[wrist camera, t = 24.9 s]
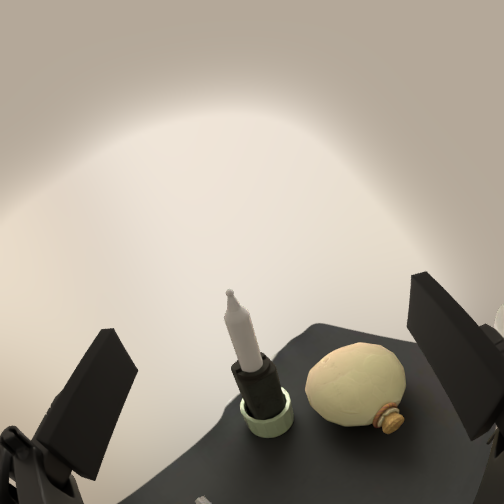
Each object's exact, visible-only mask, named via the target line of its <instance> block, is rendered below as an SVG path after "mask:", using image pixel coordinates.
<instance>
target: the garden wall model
mask: <svg viewBox="0 0 504 504" xmlns="http://www.w3.org/2000/svg"><path fill="white" fill-rule="evenodd" d="M203 497H204V496H203ZM203 497H201V498H197V499H196V501H195V503H197V504H211V503H210V502H209V501H208V500H206V498H203Z"/></svg>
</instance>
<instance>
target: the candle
mask: <svg viewBox="0 0 504 504" xmlns="http://www.w3.org/2000/svg"><path fill="white" fill-rule="evenodd" d="M226 295H227V296H228V301H227V311H226V313H225V316H224V319H225V323H226V326H227V329H228V331H229V335H230V338H231V341H232V343H233V346H234V349H235V352H236V355H237V358H238V360H237V362H235V363H234V364H233V365H232V367H231V370H232V373H233V375H234V378H235V380H236V383H237V385H238V388H239V390H240V393H241V395H242V397H243V400H244V402H245V405H246V407H247V409H248V412H249V414H250V416H251V417H252V418H254V419H257V420H267V419H271V418H274V417H275V416H277V415H279V414H280V413H281V412H282V411H283V409H284V408H285V401H284V397H283V393H282V389H281V385H280V381H279V377H278V373H277V369H276V366H275V364H274V363H273V362H272V361H271V360H270V359H269V358H268V357H267V356H266V355H265V354H264V353H262V352H260V350H259V346H258V343H257V340H256V336H255V333H254V329H253V325H252V321H251V318H250V314H249V312H248V310H247V309H246V308H244V307H243V306H241V305H240V303H239V302H238V301H237V299H236V298H235V297H234V295H233V290H231V289H228V290H227V291H226Z"/></svg>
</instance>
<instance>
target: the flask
mask: <svg viewBox="0 0 504 504" xmlns="http://www.w3.org/2000/svg"><path fill="white" fill-rule="evenodd" d="M405 388H406V381H405V373H404V368H403V366H402V364H401V363H400V362H399V360H398V359H397V357H396V356H395V354H394V353H392V352H390V351H389V350H387V349H385V348H384V347H382V346H380V345H375V344H368V343H356V344H352V345H349V346H346V347H342V348H339V349H337V350H334V351H333V352H331V353H329V354H328V355H326V356H325V357H324V358H323V359H322V360H320V361H319V362H318V363H317V364H316V365H315V366H314V367H313V368H312V369H311V370H310V372H309V374H308V378H307V383H306V388H305V391H306V394H307V397H308V400H309V403H310V405H311V406H312V407H313V408H314V409H315V410H316V411H317V412H318V413H319V414H320V415H321V416H322V417H323V418H325V419H326V420H327V421H330V422H333V423H336V424H339V425H342V426H345V427H349V426H362V425H369V424H372V423H373V425H374V427H376V428H380V427H382V429H383V432H384V433H386V434H390V433H392V432H394V431H396V430H397V429H398V428H399V427H400V426H401V424H402V423H403V422H404V417H403V416H402V415H400V414H398V413H399V409H397V406H398V404H399V403H400V401H401V398H402V396H403V393H404V390H405Z"/></svg>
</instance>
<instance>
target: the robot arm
mask: <svg viewBox="0 0 504 504" xmlns="http://www.w3.org/2000/svg"><path fill="white" fill-rule="evenodd" d="M407 328H408V330H409V331H410V333H411V334H412V336H413V337H414V339H415V341H416V342H417V344H418V345H419V347H420V349H421V350H422V352H423V354H424V355H425V357H426V358H427V360H428V362H429V363H430V365H431V367H432V368H433V370H434V372H435V374H436V375H437V377H438V379H439V381H440V382H441V384H442V386H443V388H444V389H445V391H446V393H447V395H448V397H449V398H450V400H451V402H452V404H453V406H454V408H455V410H456V412H457V414H458V415H459V417H460V419H461V421H462V423H463V425H464V427H465V429H466V431H467V433H468V436H469V438H470V440H471V441H473V440H475V439H476V438H478V437H480V436H481V435H483V434H485V433H486V432H488V431H489V430H490V428H491V427H492V426H493V424H494V423H496V425H497V427H498V428H497V429H496V430H495V432H494V433H493V434H492V436H491V437H490V438H489V439H488V442H487V444H490V443H491V441H492V440H493V439H494V440H493V444H492V448H491V452H490V456H489V459H488V463H487V466H486V470H485V473H484V476H483V479H482V482H481V485H480V487H479V490H478V493H477V495H476V498H475V500H474V503H473V504H504V338H503V337H502V335H501V334H500V333H499V332H498V331H497V330H496V329H494V328H492V327H491V326H489V325H487V324H484V325H482V326H478V325H477V324H476V322H475V321H474V320H473V319H472V318H471V317H470V316H469V315H468V314H467V313H466V311H465V310H464V309H463V308H462V307H461V306H460V305H459V304H458V303H457V302H456V301H455V300H454V299H453V298H452V297H451V295H450V294H449V293H448V292H447V291H446V290H445V289H444V288H443V287H442V286H441V285H440V284H439V283H438V282H437V281H436V280H435V279H433V278H432V277H431V276H430V274H428V273H427V272H422V273H418V274H415V275H411V289H410V301H409V312H408V320H407ZM137 372H138V369H137V368H136V366H135V364H134V363H133V361H132V360H131V358H130V356H129V355H128V353H127V351H126V350H125V348H124V346H123V344H122V343H121V341H120V339H119V337H118V335H117V334H116V332H115V330H114V328H110V329H101V331H100V332H99V334H98V335H97V337H96V338H95V340H94V341H93V343H92V344H91V346H90V347H89V349H88V350H87V352H86V353H85V355H84V356H83V358H82V359H81V361H80V363H79V364H78V366H77V367H76V369H75V370H74V372H73V374H72V375H71V377H70V379H69V380H68V382H67V384H66V385H65V387H64V389H63V390H62V391H61V392H60V393H59V394H58V395H57V396H56V397H55V399H54V401H53V402H52V404H51V408H49V409H48V411H47V415H45V416H44V418H43V420H42V422H41V423H40V425H39V427H38V429H37V431H36V433H35V435H34V437H33V438H32V440H31V441H30V440H29V439H28V438H27V437H26V436H25V435H24V434H23V433H22V432H21V431H20V430H19V429H18V428H17V427H16V426H9V427H7V428H6V429H5V430H4V431H3V432H2V434H1V436H0V504H84V503H83V500H82V498H81V495H80V492H79V489H78V486H77V483H76V480H75V478H74V476H73V475H71V472H72V470H73V471H74V472H76V473H77V474H78V475H80V476H81V477H84V478H87V479H90V480H93V481H95V480H96V477H97V474H98V472H99V469H100V466H101V463H102V460H103V458H104V455H105V452H106V449H107V446H108V444H109V441H110V439H111V436H112V433H113V431H114V428H115V426H116V423H117V421H118V418H119V415H120V413H121V410H122V408H123V406H124V403H125V401H126V398H127V396H128V393H129V391H130V389H131V386H132V384H133V381H134V379H135V377H136V375H137ZM9 477H10V478H11V479H12V480H14V481H15V482H16V487H14V486H13V485H11V484H10V483H9Z"/></svg>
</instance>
